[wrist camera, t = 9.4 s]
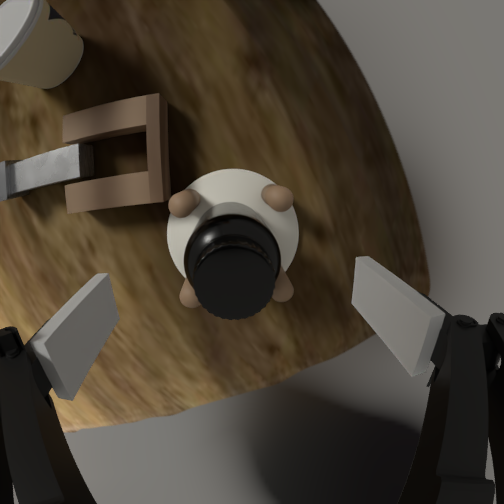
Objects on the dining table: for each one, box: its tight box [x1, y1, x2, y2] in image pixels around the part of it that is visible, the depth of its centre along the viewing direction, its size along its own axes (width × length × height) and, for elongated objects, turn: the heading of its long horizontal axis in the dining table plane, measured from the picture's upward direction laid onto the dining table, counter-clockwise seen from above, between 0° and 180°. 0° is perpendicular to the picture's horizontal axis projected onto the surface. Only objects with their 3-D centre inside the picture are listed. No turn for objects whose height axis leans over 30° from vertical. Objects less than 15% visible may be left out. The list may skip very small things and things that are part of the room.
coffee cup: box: [0, 0, 84, 89], centre depth 14 cm, size 9×9×12 cm
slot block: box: [63, 93, 171, 214], centre depth 23 cm, size 10×10×3 cm
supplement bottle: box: [184, 202, 281, 320], centre depth 21 cm, size 7×7×12 cm
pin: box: [0, 144, 95, 201], centre depth 22 cm, size 12×4×4 cm, turn 92°
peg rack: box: [167, 169, 299, 308], centre depth 25 cm, size 13×13×6 cm
